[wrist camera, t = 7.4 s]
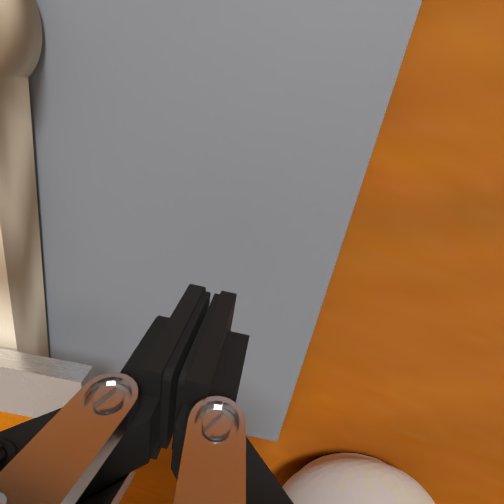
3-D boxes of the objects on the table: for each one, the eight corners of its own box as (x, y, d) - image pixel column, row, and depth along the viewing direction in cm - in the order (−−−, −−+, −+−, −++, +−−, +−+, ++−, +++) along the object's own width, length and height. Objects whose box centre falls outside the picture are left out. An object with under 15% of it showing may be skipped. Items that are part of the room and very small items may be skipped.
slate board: (416, -11, 10) (428, -21, 9) (277, 426, 20) (277, 441, 19) (-192, -124, 10) (-237, -144, 10) (-33, 364, 20) (-48, 376, 19)
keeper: (128, 315, 17) (79, 384, 13) (128, 356, 19) (84, 430, 15) (-52, 280, 17) (-156, 337, 13) (-39, 323, 19) (-130, 387, 15)
